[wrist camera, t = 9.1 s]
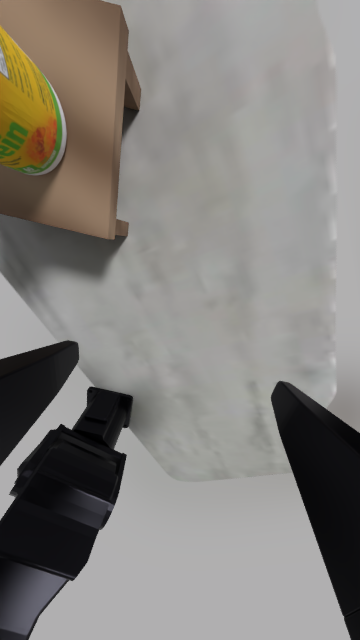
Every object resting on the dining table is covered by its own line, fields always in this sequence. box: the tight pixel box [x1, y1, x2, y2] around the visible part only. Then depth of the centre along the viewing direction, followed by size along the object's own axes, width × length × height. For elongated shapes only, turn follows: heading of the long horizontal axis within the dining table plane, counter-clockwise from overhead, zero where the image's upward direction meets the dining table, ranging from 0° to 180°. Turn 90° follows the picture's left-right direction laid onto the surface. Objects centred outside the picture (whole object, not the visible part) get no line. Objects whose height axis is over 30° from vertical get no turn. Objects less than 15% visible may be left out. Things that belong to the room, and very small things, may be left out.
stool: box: [0, 0, 141, 240], centre depth 14 cm, size 11×11×5 cm
